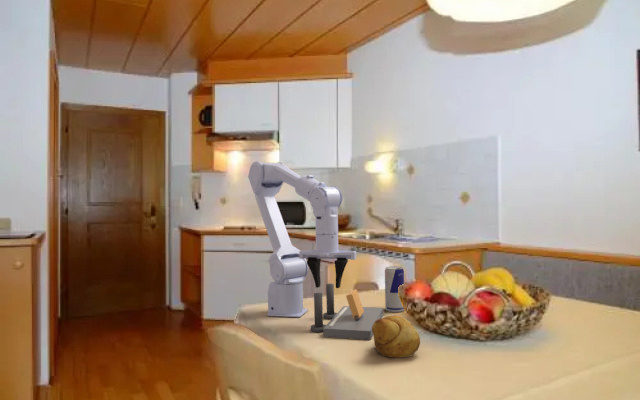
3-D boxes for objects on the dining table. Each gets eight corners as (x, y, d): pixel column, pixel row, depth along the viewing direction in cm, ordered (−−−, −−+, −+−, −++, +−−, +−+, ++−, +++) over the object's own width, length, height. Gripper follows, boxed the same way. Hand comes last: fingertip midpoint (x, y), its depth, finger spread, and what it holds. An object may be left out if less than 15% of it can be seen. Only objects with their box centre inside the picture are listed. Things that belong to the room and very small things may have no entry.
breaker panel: (323, 337, 111) (323, 327, 111) (343, 313, 132) (343, 305, 132) (370, 339, 108) (370, 330, 108) (383, 315, 129) (383, 307, 129)
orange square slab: (354, 320, 117) (345, 295, 117) (358, 314, 123) (350, 290, 123) (360, 319, 117) (351, 293, 117) (364, 312, 122) (356, 289, 123)
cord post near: (308, 332, 115) (307, 295, 115) (313, 327, 119) (312, 291, 119) (324, 333, 114) (323, 295, 114) (328, 328, 118) (328, 292, 118)
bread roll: (374, 340, 108) (373, 305, 108) (418, 341, 106) (417, 305, 106) (371, 360, 95) (371, 320, 95) (421, 362, 94) (420, 321, 93)
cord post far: (321, 319, 126) (320, 285, 126) (325, 315, 130) (324, 282, 130) (336, 320, 125) (335, 285, 125) (339, 316, 129) (338, 283, 129)
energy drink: (406, 312, 132) (405, 269, 131) (386, 312, 132) (385, 269, 132) (403, 307, 137) (402, 266, 137) (384, 308, 137) (383, 266, 137)
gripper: (294, 235, 119) (296, 289, 120) (351, 235, 116) (352, 291, 116) (303, 232, 126) (304, 284, 127) (357, 232, 123) (358, 285, 123)
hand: (328, 287), depth 122 cm, fingers open, 5 cm apart
